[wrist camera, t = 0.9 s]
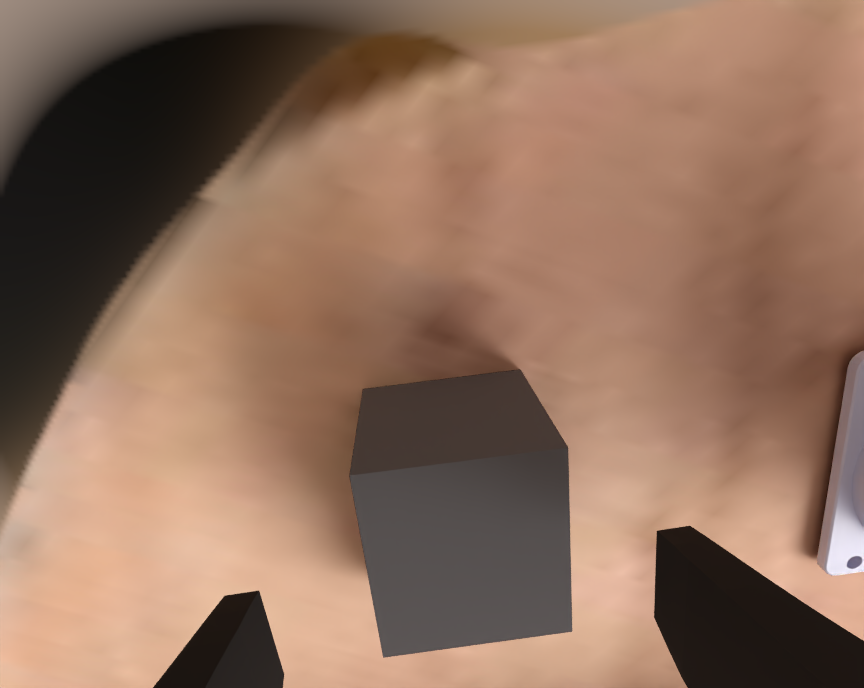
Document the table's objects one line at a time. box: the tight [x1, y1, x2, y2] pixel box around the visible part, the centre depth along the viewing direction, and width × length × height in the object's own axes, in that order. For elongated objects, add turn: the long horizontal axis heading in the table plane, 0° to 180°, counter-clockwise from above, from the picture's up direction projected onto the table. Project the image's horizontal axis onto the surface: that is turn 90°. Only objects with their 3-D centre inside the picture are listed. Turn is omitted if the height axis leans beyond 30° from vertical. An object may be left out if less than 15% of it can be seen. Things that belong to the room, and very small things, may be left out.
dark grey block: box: [349, 370, 572, 658], centre depth 14 cm, size 4×7×4 cm, turn 6°
